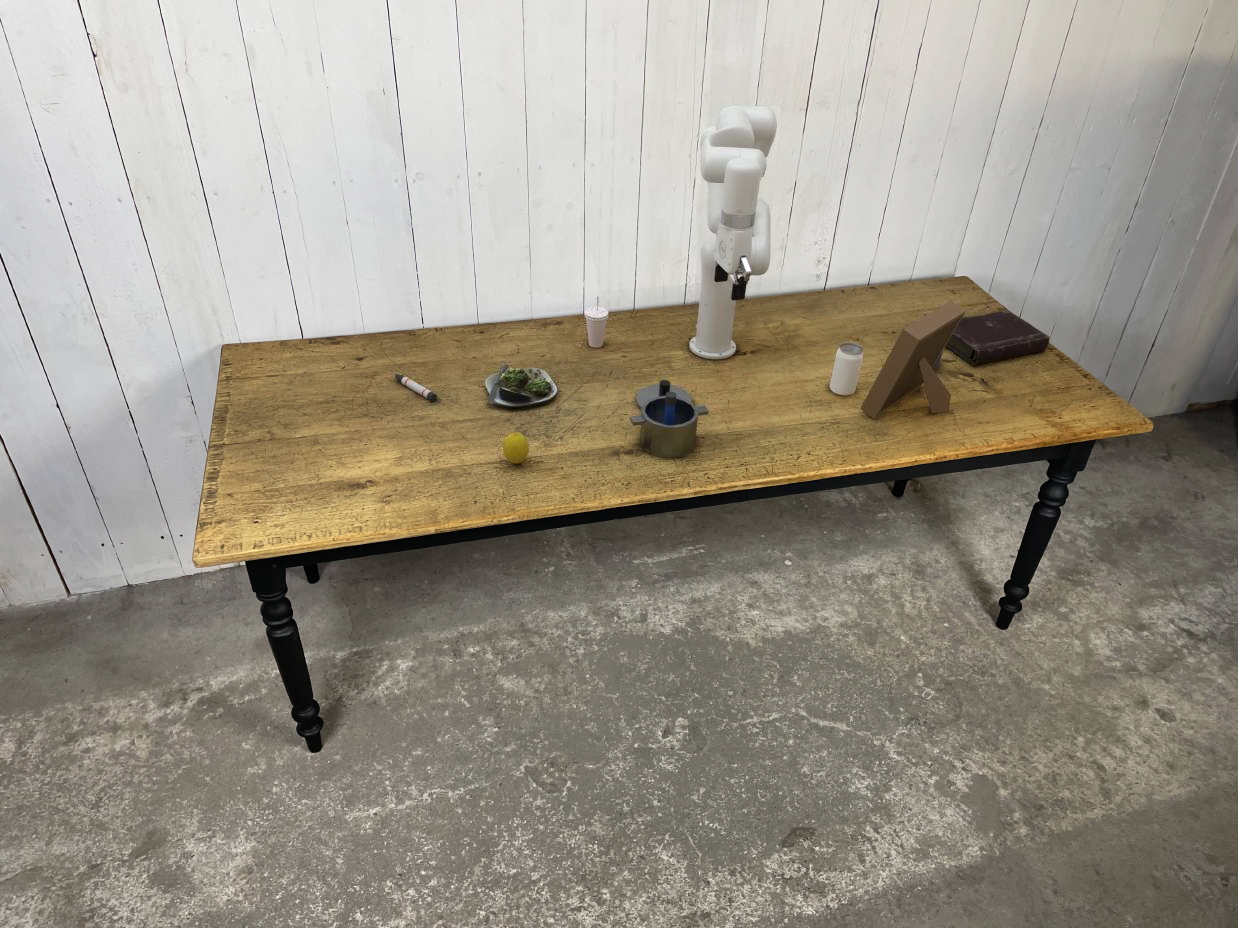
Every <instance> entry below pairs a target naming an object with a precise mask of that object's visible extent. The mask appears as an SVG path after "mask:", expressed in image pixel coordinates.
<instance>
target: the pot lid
mask: <svg viewBox="0 0 1238 928" xmlns="http://www.w3.org/2000/svg"><path fill="white" fill-rule="evenodd" d="M667 392H674V393H676V395H677V396H676V397H680V398H683V399H686V400H688V401H690V402H691V403H693V402H692V401H693V400H692V396H691V395H690V393H689V392H688V391H687V390H685V389H684V388H682V387H681V386H677V385H673V384H671V381H670V380H667V379H661V380H660V381H659V383H654V384H650V385H647V386H644V387H642V388H640V390H638V392H637V393H636V395H635V402H636V405H637V406H638V407H639V408H640V409H641V410H642V406H643V405H644V404H645V402H646V401H648V400H650V399H652V398H654V397H660V396H666V393H667Z"/></svg>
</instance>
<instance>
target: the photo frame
mask: <svg viewBox="0 0 1238 928" xmlns="http://www.w3.org/2000/svg"><path fill="white" fill-rule="evenodd" d="M966 312H967V309H965V308H964V307H962V306H961V305H959V304H957V303H956V302H954V301H953V300H949V301H948V302H946V303H945V304H942V305H941V306H940V307H938V308H936V309H935V310H933V311H931V312H930V313H927V314H926V315H925V316H923V317H921V318H919V319H918V320H916V321H914V322H913V323H911V324H909V325H907V326H906V327H905V328H903V329H902V330H901V332H900V333H899V336H898V337H897V340H896V341H895V343H894V345H893V347H892V349H891V351H890V353H889V355H888V356H887V358H886V360H885V362H884V364H883V365H882V367H881V369H880V371H879V373H878V374H877V376H876V378H875V380H874V382H873V384H872V386H871V388H870V390H869V392H868V393H867V394H866V396H865V398H864V401H863V402H862V404H861V406H860V408H859V409H860V410H861V411H862V412H864V413H865V414H866V415H868V416H869V417H871V418H872V419H873V420H875V419H877V418H878V417H880V416H881V415H883V414H884V413H886V412H887V411H888V410H890V409H891V408H893V407H895V406H896V405H897V404H899V403H900V402H902V401H903V400H905V399H906V398H908V397H909V396H910V395H912V394H913V393H915V392H917V391H918V390H919V389H921V388H922V386H923V387H924V391H925V395H926V399H927V402H928V406H929V410H930V413H931V414H938V413H947V412H949V409H950V405H951V400H952V399H951V398H952V394H951V393H950V391H949V390H948V388H947V387H946V386H945V384H944V383H943V381H942V380H941V379H940V376H938V374H937V372H935V370H934V368H932V367H933V366H934V364H935V362H936V361H937V359H938V357H939V356H940V354H941V352H942V351H943V352H944V350H945V347H946V344H947V342H948V341H949V339H950V337H951V336H952V334H953V332H954V331H955V329H956V327H957V326H958V324H959V322H960V321H961V319H962V318H963V317H965V314H966ZM943 349H944V350H943Z"/></svg>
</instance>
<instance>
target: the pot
mask: <svg viewBox="0 0 1238 928" xmlns="http://www.w3.org/2000/svg"><path fill="white" fill-rule="evenodd" d="M665 397H666V396H660V397H654V398H652V399H650V400H648V401H646V402H645V404H644V405H643V406H642V409H641V413H640V414H637V415H631V416H629V421H630V423H631V424H632V426H640V431H639V444H640V446H641V448H643V450H644V451H645V452H647V453H649V454H650V455H652V456H655V457H658V458H664V459H677V458H681V457H684V456H687V455H688V454H690V453H691V452H692V451H693V450H694V449H695V446H696V440H697V431H698V430H697V428H698V420H699V419H698V418H699V417H700V416H706V415H709V409H708V408H707V406H706V405H705V404H704V405H697V406H696V405H695V404H694V403H693V402H690V401H688V400H686V399H683V398H680V397H676V405H675V414H674V425H664V416H665Z"/></svg>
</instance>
